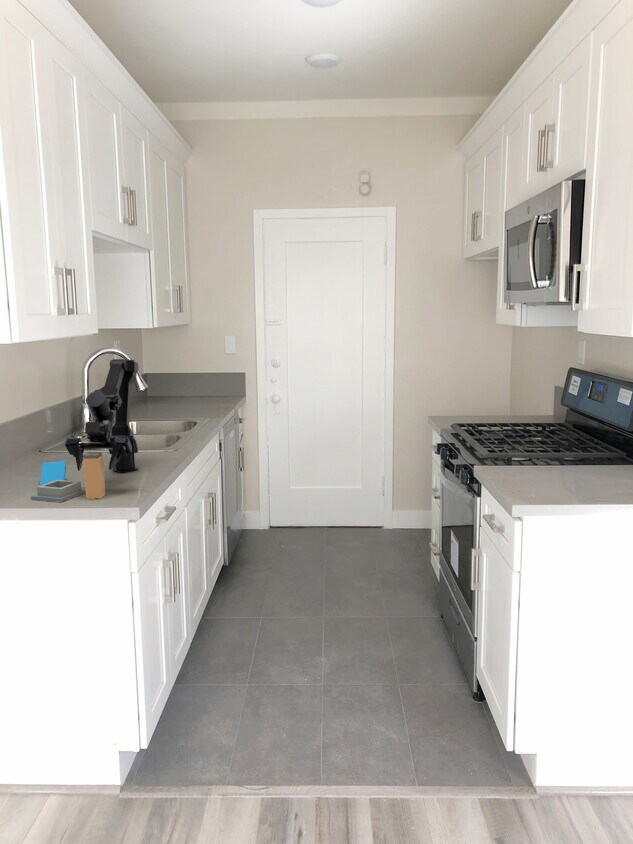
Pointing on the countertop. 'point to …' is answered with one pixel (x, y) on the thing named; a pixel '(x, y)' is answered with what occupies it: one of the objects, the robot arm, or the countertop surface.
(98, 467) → the block
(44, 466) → the blue block
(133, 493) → the countertop surface
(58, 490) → the jig cradle
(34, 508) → the countertop surface
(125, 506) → the countertop surface
